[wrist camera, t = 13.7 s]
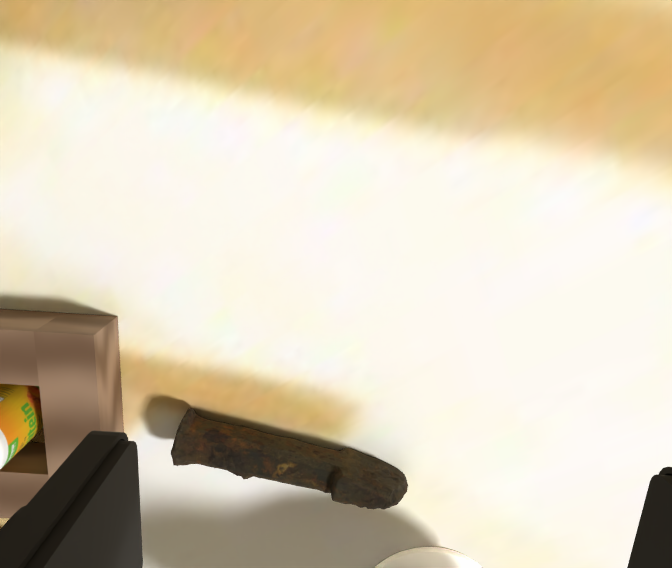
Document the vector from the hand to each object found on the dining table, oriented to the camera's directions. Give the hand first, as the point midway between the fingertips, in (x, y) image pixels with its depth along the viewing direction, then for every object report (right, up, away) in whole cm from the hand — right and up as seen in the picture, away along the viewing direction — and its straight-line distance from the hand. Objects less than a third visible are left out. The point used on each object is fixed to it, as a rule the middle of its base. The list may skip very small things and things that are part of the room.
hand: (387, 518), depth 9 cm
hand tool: (-4, -9, +35) cm, 36 cm away
